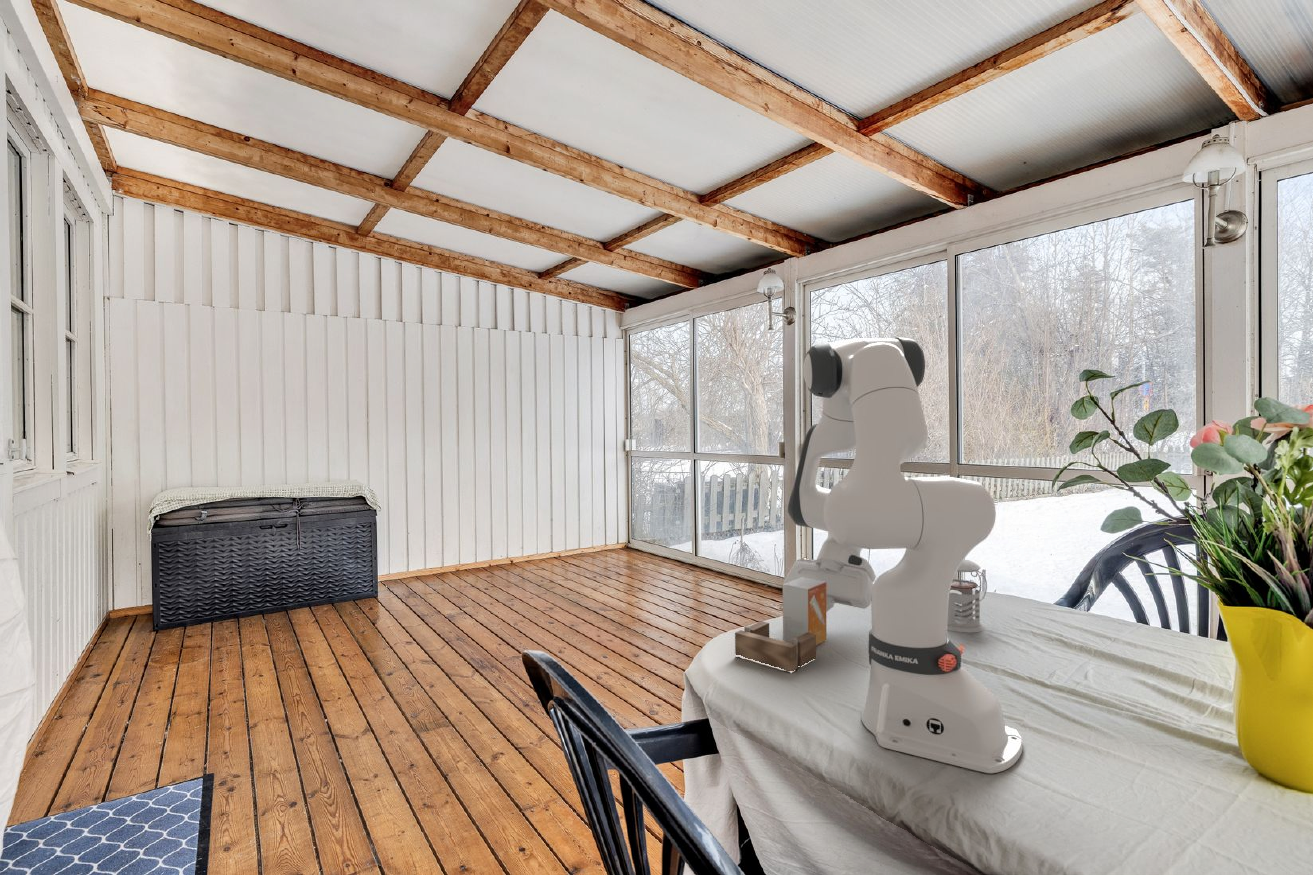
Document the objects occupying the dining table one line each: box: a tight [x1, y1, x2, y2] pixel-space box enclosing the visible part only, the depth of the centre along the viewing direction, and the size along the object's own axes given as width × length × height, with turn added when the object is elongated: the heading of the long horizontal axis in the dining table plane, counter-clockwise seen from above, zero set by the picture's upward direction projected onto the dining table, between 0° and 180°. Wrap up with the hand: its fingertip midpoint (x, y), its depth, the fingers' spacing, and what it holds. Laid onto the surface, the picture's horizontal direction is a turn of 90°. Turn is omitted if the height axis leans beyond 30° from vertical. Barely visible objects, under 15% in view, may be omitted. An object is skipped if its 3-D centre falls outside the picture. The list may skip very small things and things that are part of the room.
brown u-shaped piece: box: [734, 620, 817, 671], centre depth 129 cm, size 13×10×6 cm
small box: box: [782, 577, 828, 646], centre depth 137 cm, size 8×6×13 cm
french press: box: [947, 558, 988, 634], centre depth 146 cm, size 10×12×25 cm
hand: (815, 615), depth 140 cm, fingers closed, pressing on small box
